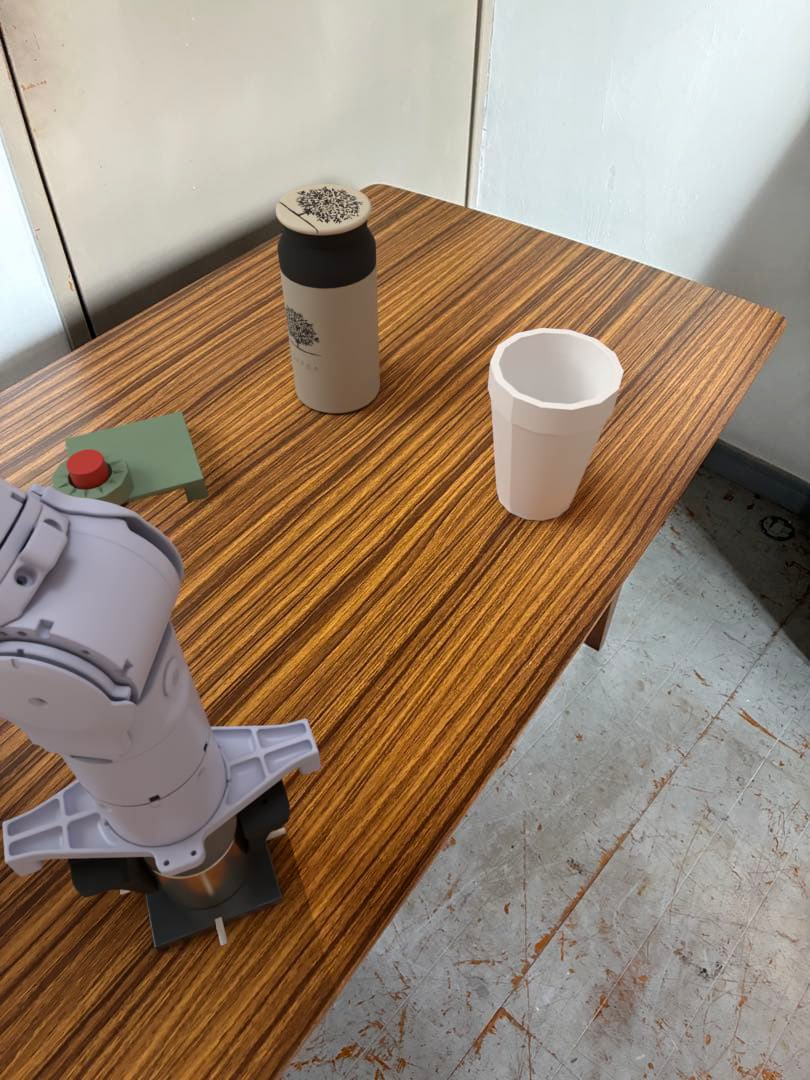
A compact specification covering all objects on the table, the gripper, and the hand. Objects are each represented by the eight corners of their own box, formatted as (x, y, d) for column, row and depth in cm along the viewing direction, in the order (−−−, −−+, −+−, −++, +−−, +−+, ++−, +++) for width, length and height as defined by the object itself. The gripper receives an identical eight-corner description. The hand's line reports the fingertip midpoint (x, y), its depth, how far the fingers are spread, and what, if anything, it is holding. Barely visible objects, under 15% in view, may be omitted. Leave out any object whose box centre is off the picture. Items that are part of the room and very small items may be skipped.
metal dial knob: (167, 924, 44) (143, 892, 40) (150, 834, 47) (127, 796, 43) (261, 887, 45) (248, 853, 41) (239, 802, 48) (224, 763, 44)
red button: (75, 494, 63) (68, 478, 62) (71, 470, 65) (64, 454, 63) (112, 484, 64) (105, 468, 62) (106, 461, 65) (100, 445, 64)
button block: (72, 542, 65) (56, 508, 62) (59, 460, 71) (43, 426, 68) (211, 505, 67) (202, 470, 64) (186, 429, 73) (177, 394, 70)
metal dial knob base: (146, 992, 44) (134, 980, 42) (119, 831, 50) (107, 813, 48) (313, 924, 46) (309, 909, 44) (269, 777, 52) (264, 759, 50)
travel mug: (356, 353, 81) (346, 173, 67) (395, 399, 76) (393, 215, 62) (282, 378, 78) (256, 196, 64) (317, 426, 74) (298, 241, 60)
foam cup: (609, 481, 69) (643, 355, 59) (562, 551, 64) (591, 426, 54) (509, 440, 72) (526, 314, 63) (457, 504, 67) (466, 378, 57)
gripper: (-34, 897, 31) (76, 983, 41) (332, 766, 34) (348, 875, 45) (-40, 738, 35) (61, 851, 45) (285, 635, 39) (310, 763, 49)
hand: (201, 855), depth 45 cm, fingers closed on metal dial knob, 5 cm apart
